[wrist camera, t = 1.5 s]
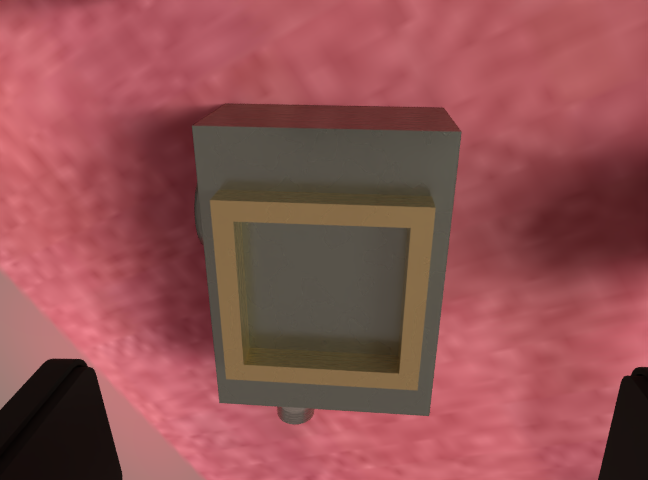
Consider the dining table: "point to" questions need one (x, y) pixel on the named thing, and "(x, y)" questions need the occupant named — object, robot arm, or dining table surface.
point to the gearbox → (325, 252)
